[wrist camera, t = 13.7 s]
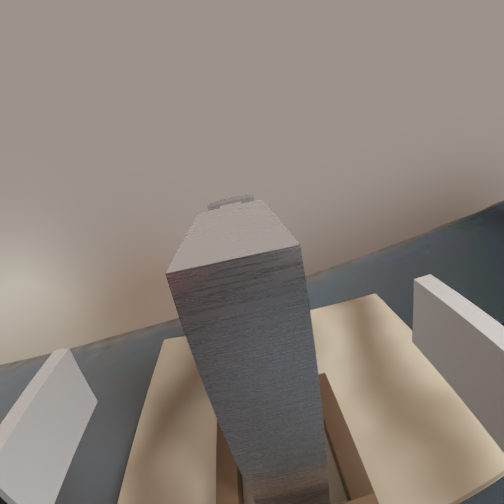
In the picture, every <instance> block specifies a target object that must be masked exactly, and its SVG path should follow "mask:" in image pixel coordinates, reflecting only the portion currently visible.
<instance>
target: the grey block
mask: <svg viewBox="0 0 504 504" xmlns="http://www.w3.org/2000/svg"><path fill="white" fill-rule="evenodd" d="M207 207H208V211H206V212H201V213H198V215H197V216H196V218H195V220H194V222H193V223H192V225H191V227H190V229H189V231H188V232H187V234H186V236H185V238H184V240H183V242H182V243H181V245H180V247H179V249H178V251H177V253H176V255H175V256H174V258H173V260H172V262H171V264H170V266H169V268H168V270H167V271H166V273H165V274H166V277H167V280H168V283H169V287H170V290H171V293H172V296H173V299H174V303H175V306H176V309H177V312H178V315H179V318H180V321H181V324H182V327H183V330H184V333H185V336H186V338H187V341H188V344H189V347H190V350H191V353H192V355H193V358H194V361H195V364H196V366H197V369H198V372H199V374H200V377H201V380H202V382H203V385H204V387H205V390H206V393H207V395H208V398H209V400H210V403H211V405H212V408H213V410H214V413H215V415H216V417H217V420H218V422H219V425H220V427H221V429H222V432H223V434H224V436H225V439H226V441H227V443H228V446H229V448H230V450H231V452H232V455H233V457H234V459H235V461H236V464H237V466H238V468H239V470H240V472H241V474H242V476H243V479H244V481H245V483H246V485H247V487H248V489H249V491H250V493H251V495H252V497H253V499H254V501H255V503H256V504H330V494H329V480H328V467H327V454H326V443H325V432H324V422H323V412H322V402H321V393H320V384H319V376H318V367H317V359H316V351H315V343H314V336H313V328H312V321H311V314H310V307H309V300H308V293H307V287H306V280H305V274H304V267H303V261H302V256H301V248H300V244H299V243H298V242H297V240H296V239H295V238H294V237H293V236H292V234H291V233H290V232H289V231H288V229H287V228H286V227H285V226H284V224H283V223H282V222H281V221H280V220H279V218H278V217H277V216H276V215H275V214H274V212H273V211H272V210H271V209H270V208H269V206H268V205H267V204H266V203H265V202H264V200H263V199H261V200H256V201H254V198H253V196H252V195H245V196H238V197H233V198H228V199H224V200H220V201H217V202H214V203H211V204H209V205H208V206H207Z"/></svg>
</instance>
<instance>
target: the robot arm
mask: <svg viewBox="0 0 504 504" xmlns="http://www.w3.org/2000/svg"><path fill="white" fill-rule="evenodd" d="M412 342H413V343H414V344H415V346H416V347H417V348H418V349H419V350H420V351H421V352H422V354H423V355H424V356H425V357H426V358H427V359H428V360H429V362H430V363H431V364H432V365H433V366H434V367H435V369H436V370H437V371H438V372H439V373H440V374H441V376H442V377H443V378H444V379H445V380H446V381H447V383H448V384H449V385H450V386H451V387H452V389H453V390H454V391H455V392H456V393H457V395H458V396H459V397H460V398H461V400H462V401H463V402H464V403H465V404H466V406H467V407H468V408H469V409H470V411H471V412H472V413H473V414H474V416H475V417H476V418H477V419H478V421H479V422H480V423H481V424H482V426H483V427H484V428H485V429H486V431H487V432H488V433H489V435H490V436H491V437H492V438H493V440H494V441H495V442H496V444H497V445H498V446H499V448H500V449H501V450H502V452H503V453H504V323H503V324H500V323H499V322H497V321H496V320H495V319H493V318H492V317H491V316H489V315H488V314H487V313H485V312H484V311H483V310H481V309H480V308H478V307H477V306H476V305H474V304H473V303H471V302H470V301H469V300H467V299H466V298H464V297H463V296H462V295H460V294H459V293H457V292H456V291H454V290H453V289H451V288H450V287H449V286H447V285H446V284H444V283H443V282H441V281H440V280H438V279H437V278H435V277H434V276H432V275H431V274H430V275H426V276H423V277H419V278H416V279H414V306H413V332H412ZM97 402H98V401H97V399H96V397H95V396H94V394H93V392H92V390H91V389H90V387H89V385H88V383H87V381H86V380H85V378H84V376H83V374H82V372H81V370H80V368H79V366H78V365H77V363H76V361H75V359H74V357H73V355H72V353H71V351H70V349H69V348H65V349H56V350H54V352H53V353H52V354H51V355H50V357H49V358H48V359H47V361H46V362H45V363H44V364H43V366H42V367H41V368H40V370H39V371H38V372H37V374H36V375H35V376H34V378H33V379H32V380H31V382H30V383H29V384H28V386H27V387H26V388H25V390H24V391H23V393H22V394H21V395H20V397H19V398H18V400H17V401H16V402H15V404H14V405H13V407H12V408H11V410H10V411H9V412H8V414H7V415H6V417H5V418H4V420H3V421H2V423H1V424H0V504H55V501H56V499H57V496H58V493H59V491H60V488H61V486H62V483H63V481H64V478H65V476H66V473H67V471H68V468H69V466H70V463H71V461H72V458H73V456H74V454H75V451H76V449H77V447H78V444H79V442H80V440H81V437H82V435H83V433H84V431H85V428H86V426H87V424H88V422H89V419H90V417H91V415H92V413H93V411H94V408H95V406H96V404H97Z"/></svg>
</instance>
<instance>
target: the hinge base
mask: <svg viewBox="0 0 504 504" xmlns="http://www.w3.org/2000/svg"><path fill="white" fill-rule="evenodd" d="M310 314H311V321H312V328H313V336H314V343H315V351H316V359H317V367H318V376H319V384H320V393H321V402H322V412H323V422H324V432H325V443H326V454H327V467H328V480H329V494H330V504H460V503H461V502H463V501H465V500H467V499H468V498H470V497H472V496H474V495H475V494H477V493H479V492H480V491H482V490H483V489H485V488H487V487H488V486H490V485H491V484H493V483H494V482H496V481H497V480H499V479H500V478H502V477H503V476H504V453H503V452H502V450H501V449H500V448H499V446H498V445H497V444H496V442H495V441H494V440H493V438H492V437H491V436H490V435H489V433H488V432H487V431H486V429H485V428H484V427H483V426H482V424H481V423H480V422H479V421H478V419H477V418H476V417H475V416H474V414H473V413H472V412H471V411H470V409H469V408H468V407H467V406H466V404H465V403H464V402H463V401H462V400H461V398H460V397H459V396H458V395H457V393H456V392H455V391H454V390H453V389H452V387H451V386H450V385H449V384H448V383H447V381H446V380H445V379H444V378H443V377H442V376H441V374H440V373H439V372H438V371H437V370H436V369H435V367H434V366H433V365H432V364H431V363H430V362H429V360H428V359H427V358H426V357H425V356H424V355H423V354H422V352H421V351H420V350H419V349H418V348H417V347H416V346H415V344H414V343H413V342H412V332H413V331H412V330H411V329H410V328H409V327H408V326H407V325H406V324H405V323H404V322H403V321H402V320H401V319H400V318H399V317H398V316H397V315H396V314H395V313H394V312H393V311H392V310H391V309H390V308H389V306H388V305H387V304H386V303H385V302H384V301H383V300H382V299H381V298H380V297H379V296H378V295H377V294H376V293H375V294H371V295H368V296H364V297H360V298H357V299H353V300H349V301H345V302H341V303H337V304H333V305H329V306H325V307H321V308H317V309H313V310H310ZM118 504H256V503H255V501H254V499H253V497H252V495H251V493H250V491H249V489H248V487H247V485H246V483H245V481H244V479H243V476H242V474H241V472H240V470H239V468H238V466H237V464H236V461H235V459H234V457H233V455H232V452H231V450H230V448H229V446H228V443H227V441H226V439H225V436H224V434H223V432H222V429H221V427H220V425H219V422H218V420H217V417H216V415H215V413H214V410H213V408H212V405H211V403H210V400H209V398H208V395H207V393H206V390H205V387H204V385H203V382H202V380H201V377H200V374H199V372H198V369H197V366H196V364H195V361H194V358H193V355H192V353H191V350H190V347H189V344H188V341H187V338H186V336H182V337H176V338H170V339H164V341H163V344H162V348H161V351H160V354H159V357H158V360H157V363H156V366H155V370H154V373H153V376H152V379H151V382H150V386H149V389H148V392H147V396H146V399H145V402H144V406H143V409H142V413H141V416H140V420H139V423H138V427H137V430H136V434H135V437H134V441H133V445H132V448H131V452H130V456H129V460H128V463H127V467H126V471H125V475H124V479H123V483H122V487H121V491H120V495H119V499H118Z"/></svg>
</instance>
